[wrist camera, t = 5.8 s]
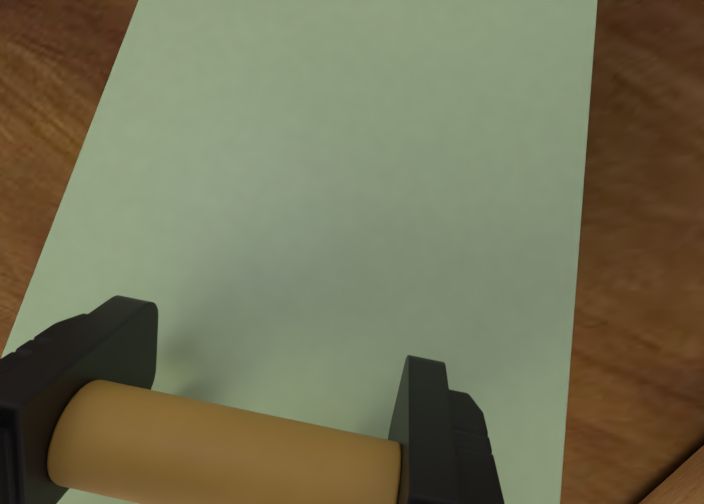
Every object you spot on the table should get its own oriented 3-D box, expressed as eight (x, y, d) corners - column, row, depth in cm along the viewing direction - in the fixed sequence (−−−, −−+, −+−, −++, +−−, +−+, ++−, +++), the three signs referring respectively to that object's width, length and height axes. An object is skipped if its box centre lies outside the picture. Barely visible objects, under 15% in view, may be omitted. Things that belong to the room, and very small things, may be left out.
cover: (537, 615, 10) (675, 784, 6) (-25, 488, 11) (-281, 555, 7) (588, -10, 15) (689, -181, 10) (183, -73, 15) (115, -261, 11)
